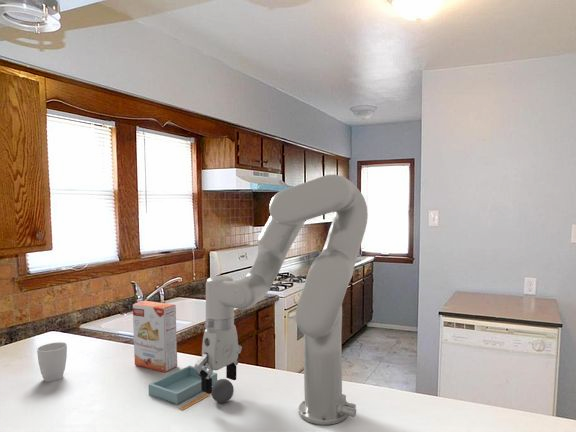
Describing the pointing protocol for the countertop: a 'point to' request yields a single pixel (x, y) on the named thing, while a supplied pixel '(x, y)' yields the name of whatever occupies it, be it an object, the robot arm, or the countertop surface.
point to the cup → (52, 360)
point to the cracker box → (155, 335)
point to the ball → (222, 390)
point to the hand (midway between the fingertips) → (219, 385)
